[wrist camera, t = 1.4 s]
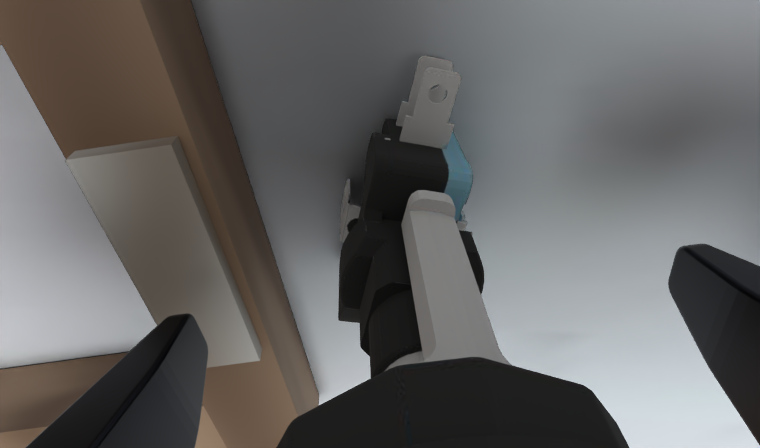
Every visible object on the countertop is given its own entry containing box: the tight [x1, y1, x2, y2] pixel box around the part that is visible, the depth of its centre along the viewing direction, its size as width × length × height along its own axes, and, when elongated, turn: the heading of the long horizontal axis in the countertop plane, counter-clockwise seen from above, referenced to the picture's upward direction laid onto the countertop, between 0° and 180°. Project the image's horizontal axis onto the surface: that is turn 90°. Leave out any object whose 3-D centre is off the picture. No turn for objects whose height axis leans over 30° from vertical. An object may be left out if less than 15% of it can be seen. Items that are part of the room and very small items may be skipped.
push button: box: [276, 55, 629, 448], centre depth 9 cm, size 7×5×10 cm
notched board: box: [0, 0, 319, 448], centre depth 12 cm, size 11×17×3 cm, turn 7°
